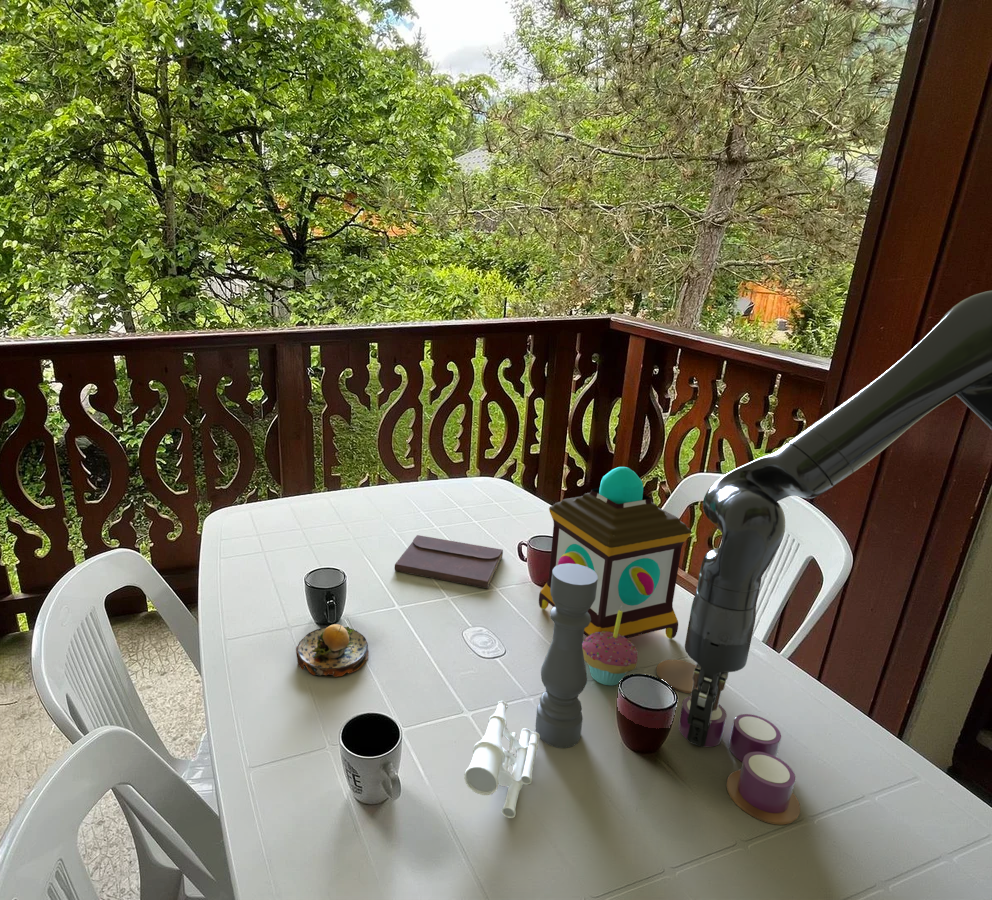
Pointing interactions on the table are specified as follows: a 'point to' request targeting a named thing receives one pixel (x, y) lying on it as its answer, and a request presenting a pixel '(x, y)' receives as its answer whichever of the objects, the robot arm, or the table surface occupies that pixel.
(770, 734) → the middle dish
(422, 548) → the brown flap folio case
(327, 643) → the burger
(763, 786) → the purple short cylinder
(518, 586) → the table surface
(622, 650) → the cupcake
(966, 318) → the robot arm
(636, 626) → the decorative lantern
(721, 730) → the purple cream-topped cylinder
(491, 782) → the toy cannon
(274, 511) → the table surface
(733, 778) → the near coaster
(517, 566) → the table surface
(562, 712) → the candle holder
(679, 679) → the far coaster
